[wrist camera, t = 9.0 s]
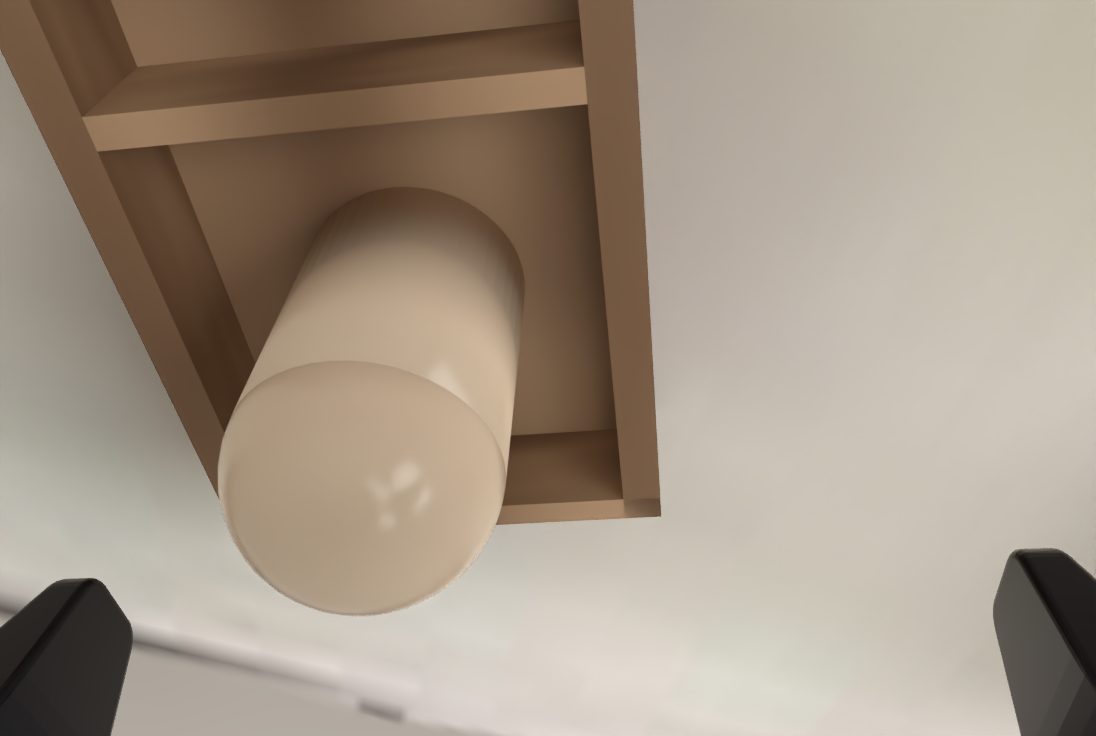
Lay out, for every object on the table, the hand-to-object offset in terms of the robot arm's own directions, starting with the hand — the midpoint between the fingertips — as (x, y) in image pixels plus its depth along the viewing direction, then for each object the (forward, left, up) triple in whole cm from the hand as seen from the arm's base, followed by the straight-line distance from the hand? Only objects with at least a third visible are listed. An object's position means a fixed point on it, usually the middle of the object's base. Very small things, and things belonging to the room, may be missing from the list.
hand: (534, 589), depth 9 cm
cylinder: (+3, +3, -10) cm, 11 cm away
